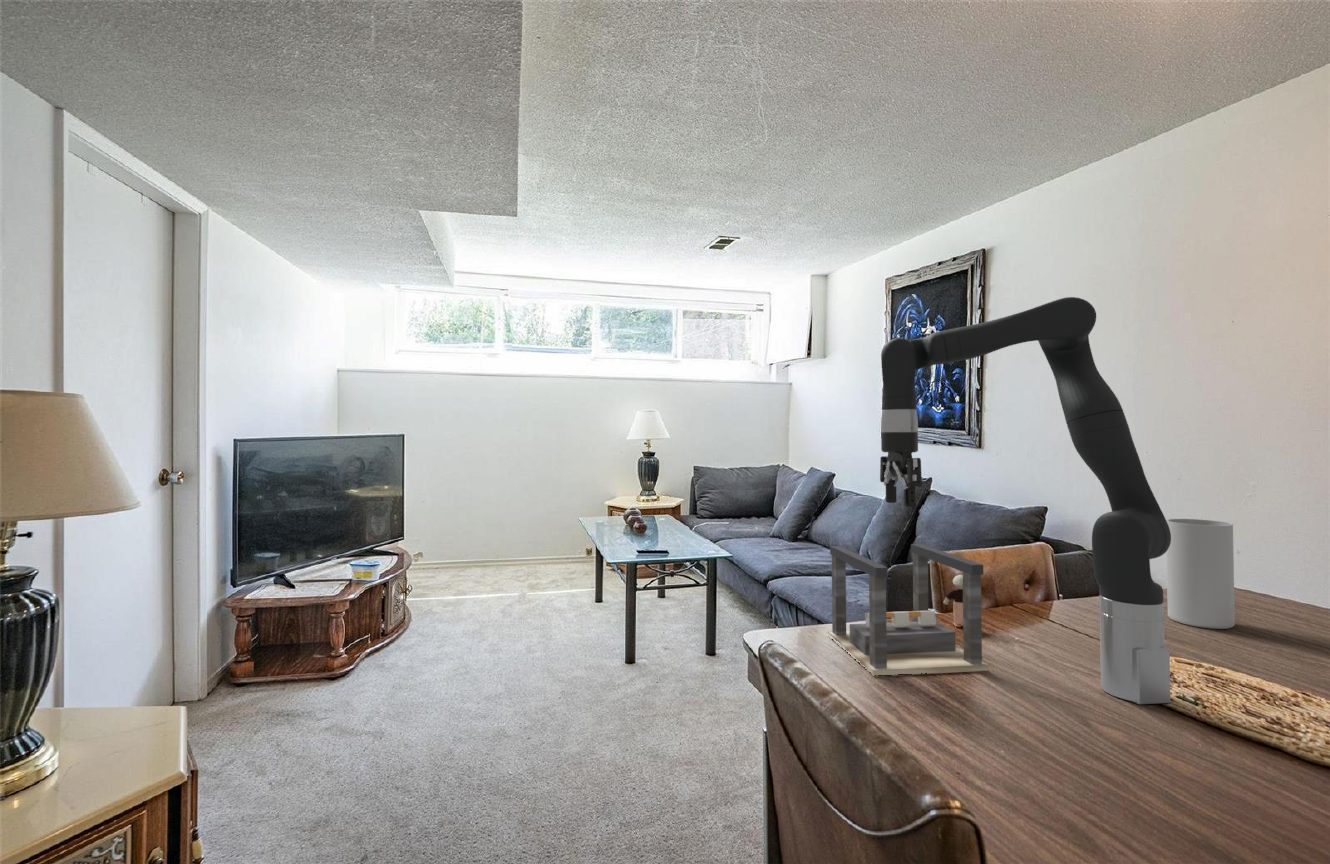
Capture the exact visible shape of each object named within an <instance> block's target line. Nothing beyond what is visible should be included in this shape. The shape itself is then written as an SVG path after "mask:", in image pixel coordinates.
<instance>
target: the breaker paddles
mask: <svg viewBox="0 0 1330 864" xmlns="http://www.w3.org/2000/svg"><path fill="white" fill-rule="evenodd" d="M864 616H865V617H864V618H865V624H866V626H867V627H870V624H869V612H865V613H864ZM916 616H918V624H920V625H936V622H937V620H936V611H935V610H931V609H928V611H913V610H912V611H911V610H910V611H909V610H907V611H905V610H904V611H886V619H888V618H891V623H892V625H894V626H910V622H911V621H910V618H911V617H916Z"/></svg>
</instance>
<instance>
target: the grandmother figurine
mask: <svg viewBox="0 0 1330 864" xmlns="http://www.w3.org/2000/svg"><path fill="white" fill-rule="evenodd" d="M952 584H953V585H954V587H955V588H956V589H953V590H950V591H949V592H947V594H946V595H945V597H944V600H943V604H944V605H949V602H950V601H951V600H953V606H952V607H953V609H952V610H953V612H952V615H953V624H954V625H955V626H961V625H963V574H958V575H955V576H954V578H953V579H952Z"/></svg>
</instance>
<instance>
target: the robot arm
mask: <svg viewBox="0 0 1330 864" xmlns="http://www.w3.org/2000/svg"><path fill="white" fill-rule="evenodd" d="M1096 322H1097V311H1096V309H1095V307H1094V306H1093V305H1092V304H1091V303H1090V302H1089V301H1088V300H1086V299H1083V298H1081V297H1074V296H1070V297H1069V296H1067V297H1063V298H1059V299H1056V300H1051V301H1049V302H1047V303H1043V304H1041V305H1039V306H1035V307H1033V308H1030V309H1027V310H1024V311H1020V312H1017V313H1014V314H1010V315H1006V316H1003V317H1000V318H996V319H993V320H989V321H985V322H980V323H979V322H978V323H976V324H975V323H974V324H971V325H965V326H960V327H956V328H950V329H945V330H941V331H936V332H933V333H930V334H928V335H927V336H924V337H919V338H915V339H910V340H909V339H907V338H902V337H895V338H893V339H890V340H889V341H887V342H886V343H885V344H884V345H883V347H882V349H881V354H880V356H881V357H880V358H881V359H880V360H881V362H880V363H881V375H882V391H881V392H882V395H881V406H882V407H881V417H880V426H881V427H880V429H881V430H880V435H881V436H880V437H881V438H880V439H881V440H880V442H881V444H880V445H881V447H880V448H881V452H882V453H887V455H884V456H880V466H879V467H880V468H879V470H880V473H879V476H880V477H879V481H880V483H883V485H884V486H885V502H886V503H889V504H894V503H897V483H898V480H899V481H900V482H901V483H902V486H903V488H904V489H903V506H904V507H907V508H914V507H916V490H917V488H918V487H922V486H923V483H922V482H923V481H922V461H921V460H922V459H921V458H920V457H913V455H912V454H913V453H917V452H918V451H919V422H918V421H919V419H918V413H917V412H918V411H917V390H916V389H917V388H916V383H915V382H916V370H921V369H924V368H928V367H932V366H935V365H936V366H937V365H945V364H949V363H950V364H951V363H957V362H962V361H966V360H972V359H975V358H979V357H981V356H984V355H988V354H991V353H993V352H997V351H999V350H1002V349H1004V348H1007V347H1010V346H1014V345H1018V344H1022V343H1024V344H1025V343H1028V342H1036V341H1038V344H1039V345H1040V348H1041V350H1042V352H1043V354H1044V357H1045V358H1046V360H1047V362H1048V365H1049V367H1050V370H1051V372H1052V373H1053V376H1054V380H1055V383H1056V387H1057V388H1056V389H1057V393H1058V396H1059V400H1060V405H1061V408H1062V412H1063V415H1064V419H1065V423H1066V426H1067V430H1068V432H1069V435H1070V439H1071V441H1072V444H1073V446H1074V448H1075V450H1076V452H1077V453H1078V455H1079V457H1080V458H1081V459H1082V461H1084V463H1085V464H1086V466H1087V467H1088V468H1089V469H1090V471H1092V473H1093V474H1094V475H1095V476H1096V478H1097V479H1098V480H1099V482H1100V483H1101V485H1102V487H1103V488H1104V489H1103V490H1105V493H1106V496H1107V498H1108V502H1109V506H1110V508H1111V511H1108V512H1105V513H1103V514H1101V515H1100V516H1099V517H1098V518H1097V519H1096V521H1095V522H1094V524H1093V527H1092V532H1091V533H1092V534H1091V550H1092V553H1091V554H1092V563H1093V564H1092V565H1093V574H1094V575H1093V576H1094V578H1095V581H1096V582H1097V585H1098V588H1099V592H1098V593H1099V649H1100V650H1099V652H1100V653H1099V657H1100V663H1099V664H1100V666H1099V667H1100V688H1101V690H1102V691H1104V692H1105V693H1107V694H1109V695H1111V696H1113V697H1116V698H1120V699H1121V700H1126V701H1129V702H1133V703H1135V704H1138V705H1149V704H1150V705H1151V704H1170V703H1171V664H1170V663H1171V659H1170V658H1171V654H1170V648H1168V647H1166V646H1165V631H1164V630H1165V629H1164V627H1165V626H1164V625H1165V621H1164V617H1165V615H1164V614H1165V611H1164V607H1165V606H1164V589H1163V587H1162V586H1161V585H1160V584H1159V583H1157V582H1155V581H1154V580H1153V578H1152V574H1151V573H1152V572H1151V561H1150V560H1153V559H1156V558H1159V557H1162V556H1163V555H1165V554H1166V553H1167V550H1168V548H1169V546H1170V543H1171V533H1170V529H1169V526H1168V523H1167V521H1166V520H1167V519H1166V517H1165V515H1164V513H1163V511H1162V508H1161V507H1160V505H1159V503H1158V500H1157V499H1156V496H1155V495H1154V493H1153V491H1152V488H1151V487H1150V484H1149V482H1148V480H1147V477H1146V475H1145V474H1146V473H1145V472H1144V468H1143V465H1142V462H1141V460H1140V457H1139V453H1138V451H1137V448H1136V446H1135V442H1134V440H1133V437H1132V433H1131V430H1130V427H1129V426H1130V425H1129V423H1128V421H1127V418H1126V415H1125V412H1124V409H1123V408H1122V405H1121V403H1120V401H1119V399H1118V397H1117V395H1116V394H1115V393H1114V391H1113V390H1112V388H1111V387H1110V385H1109V384H1108V382H1107V381H1106V380H1104V378H1103V377H1102V375H1101V374H1100V372H1099V370H1098V368H1097V365H1096V364H1095V360H1094V356H1093V353H1092V349H1091V348H1092V347H1091V345H1090V339H1089V336H1090V334H1091V332H1092V330H1093V329H1094V327H1095V324H1096Z"/></svg>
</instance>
